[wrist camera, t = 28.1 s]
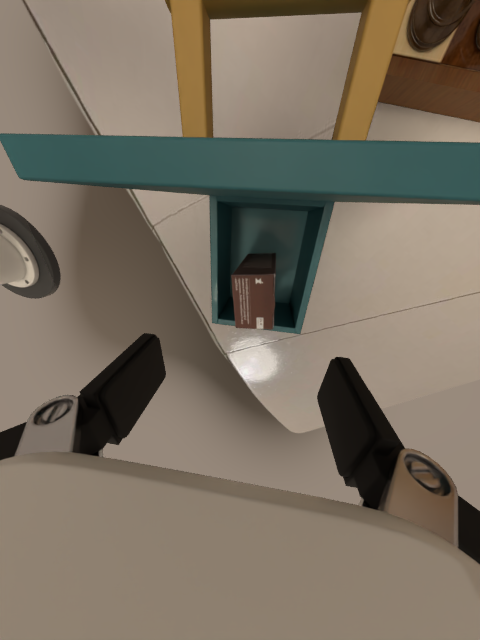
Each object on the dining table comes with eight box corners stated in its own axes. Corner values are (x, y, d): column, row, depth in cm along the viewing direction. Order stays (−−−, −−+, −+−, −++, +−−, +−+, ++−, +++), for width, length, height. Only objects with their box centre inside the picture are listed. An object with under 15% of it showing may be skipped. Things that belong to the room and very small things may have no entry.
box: (245, 253, 27) (229, 273, 17) (276, 252, 26) (280, 272, 16) (246, 291, 30) (234, 329, 19) (274, 291, 29) (277, 330, 19)
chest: (292, 306, 31) (300, 334, 23) (225, 299, 32) (211, 323, 24) (314, 205, 24) (336, 196, 16) (227, 200, 25) (209, 190, 17)
